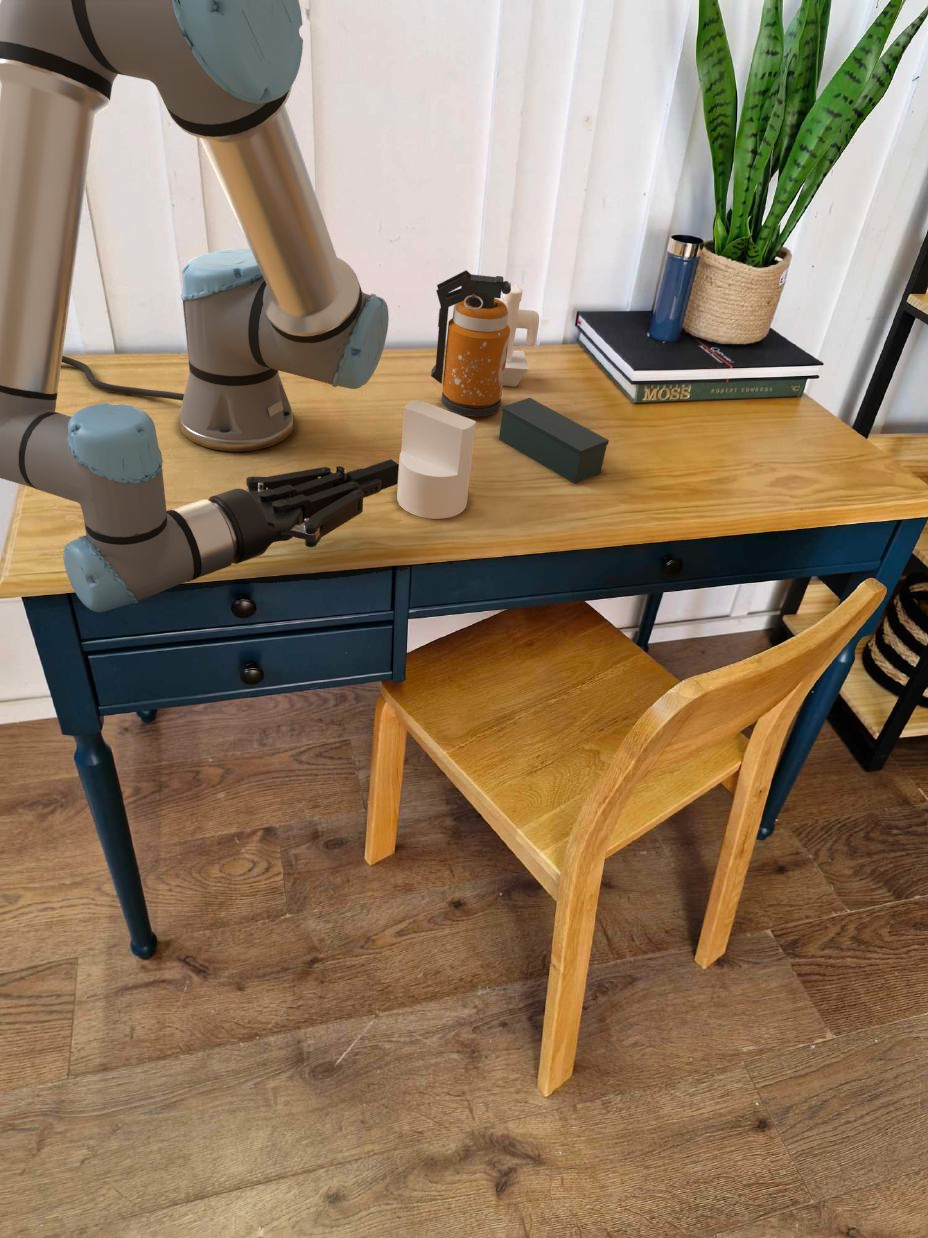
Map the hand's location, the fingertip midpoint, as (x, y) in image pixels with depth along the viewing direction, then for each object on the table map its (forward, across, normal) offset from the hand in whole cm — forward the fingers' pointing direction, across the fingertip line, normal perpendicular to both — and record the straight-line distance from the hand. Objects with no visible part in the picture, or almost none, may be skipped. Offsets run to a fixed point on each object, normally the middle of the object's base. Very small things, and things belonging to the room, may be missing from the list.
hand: (394, 471), depth 111 cm
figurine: (+41, -22, -6) cm, 47 cm away
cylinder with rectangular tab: (+7, 0, -6) cm, 9 cm away
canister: (+29, -18, -6) cm, 35 cm away
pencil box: (+29, 0, -6) cm, 29 cm away
